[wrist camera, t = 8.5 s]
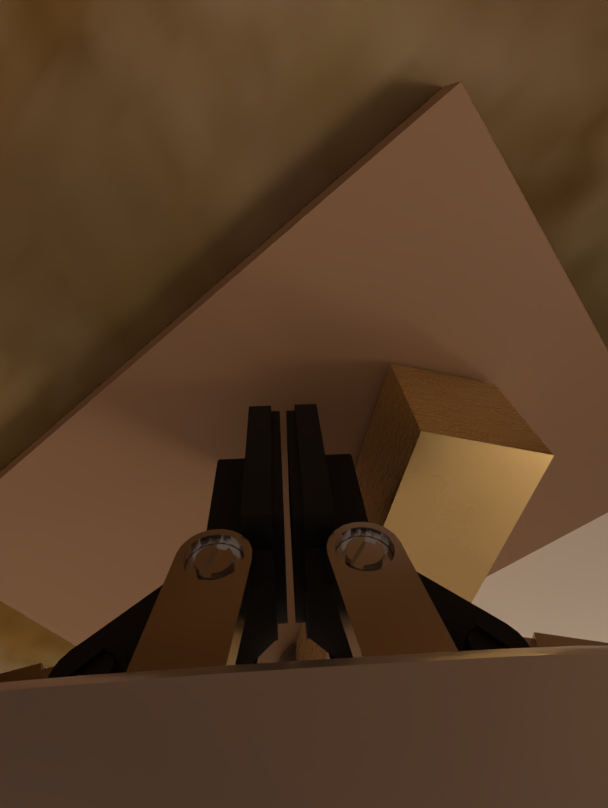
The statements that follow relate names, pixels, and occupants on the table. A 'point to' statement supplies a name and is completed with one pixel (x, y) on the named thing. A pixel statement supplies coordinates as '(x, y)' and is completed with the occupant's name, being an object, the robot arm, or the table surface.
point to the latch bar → (444, 477)
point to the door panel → (334, 387)
